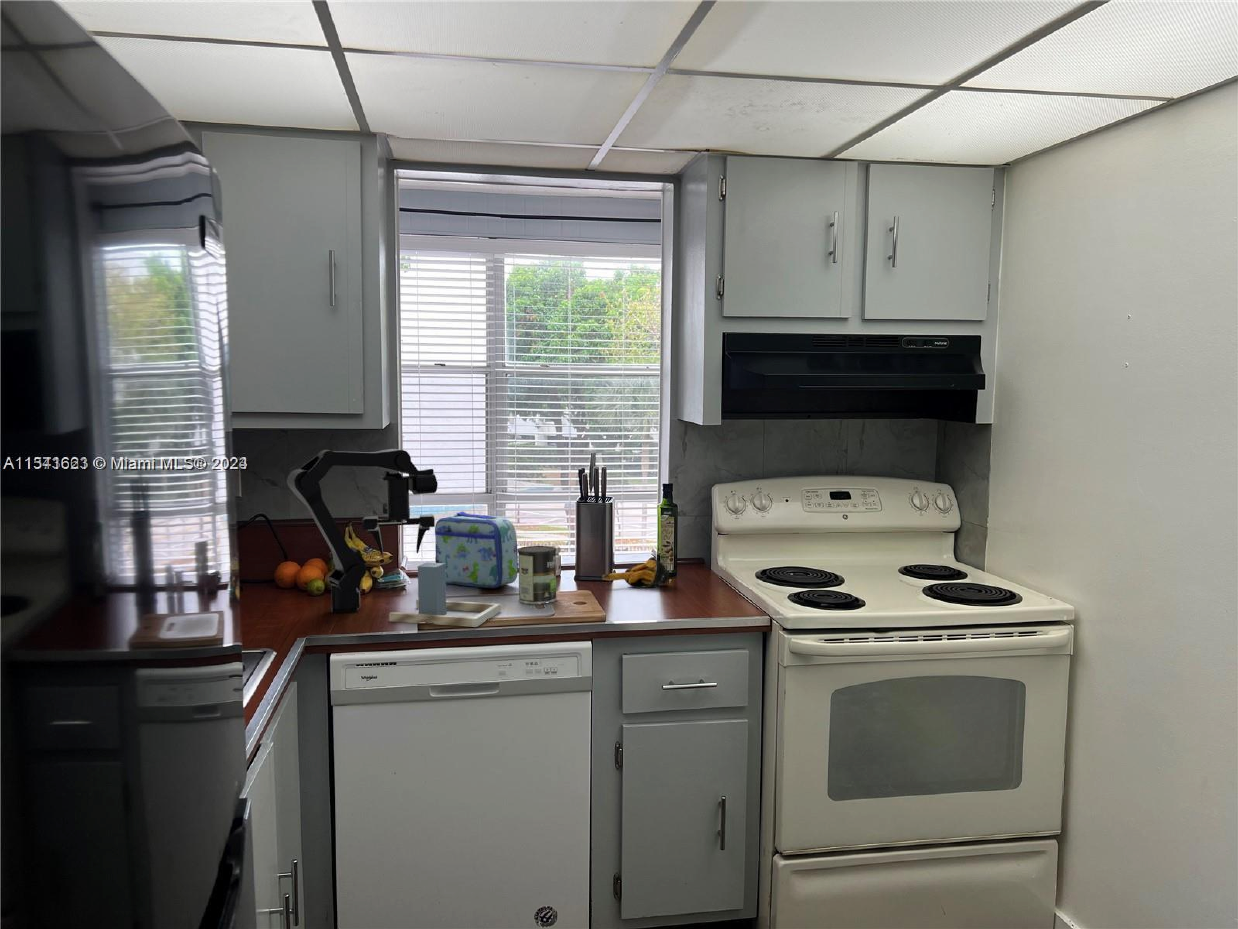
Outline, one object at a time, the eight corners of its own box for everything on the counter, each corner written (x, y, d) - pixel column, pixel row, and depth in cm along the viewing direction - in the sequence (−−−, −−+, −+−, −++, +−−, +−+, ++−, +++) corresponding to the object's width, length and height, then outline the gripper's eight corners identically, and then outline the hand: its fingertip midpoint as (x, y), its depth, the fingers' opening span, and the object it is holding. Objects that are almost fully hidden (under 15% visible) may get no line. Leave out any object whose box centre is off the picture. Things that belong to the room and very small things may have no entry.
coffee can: (561, 596, 240) (560, 545, 238) (550, 605, 230) (550, 552, 228) (525, 595, 242) (524, 544, 241) (513, 603, 232) (512, 551, 230)
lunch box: (430, 582, 258) (428, 512, 257) (456, 576, 267) (454, 508, 265) (496, 593, 244) (495, 519, 242) (521, 586, 253) (520, 514, 251)
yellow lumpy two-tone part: (677, 572, 248) (621, 557, 241) (660, 603, 251) (605, 589, 244) (668, 555, 256) (614, 540, 249) (652, 585, 259) (598, 571, 252)
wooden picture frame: (389, 621, 214) (389, 613, 214) (418, 606, 229) (418, 599, 229) (476, 627, 209) (476, 618, 208) (500, 611, 223) (500, 603, 223)
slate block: (419, 617, 218) (417, 566, 217) (428, 612, 223) (427, 562, 222) (437, 618, 217) (435, 567, 216) (446, 613, 221) (445, 563, 220)
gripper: (433, 491, 243) (434, 547, 244) (363, 494, 239) (365, 550, 240) (434, 496, 232) (435, 554, 233) (361, 498, 228) (363, 557, 229)
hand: (399, 553), depth 234 cm, fingers open, 9 cm apart
